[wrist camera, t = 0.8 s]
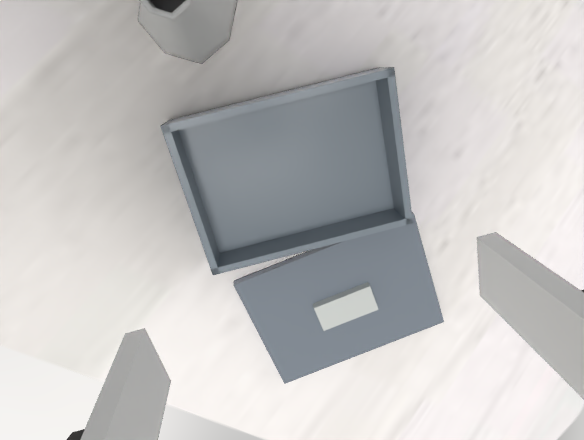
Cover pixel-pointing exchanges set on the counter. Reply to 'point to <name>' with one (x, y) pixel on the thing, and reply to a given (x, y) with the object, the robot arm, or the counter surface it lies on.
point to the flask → (188, 25)
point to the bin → (293, 169)
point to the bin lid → (341, 300)
